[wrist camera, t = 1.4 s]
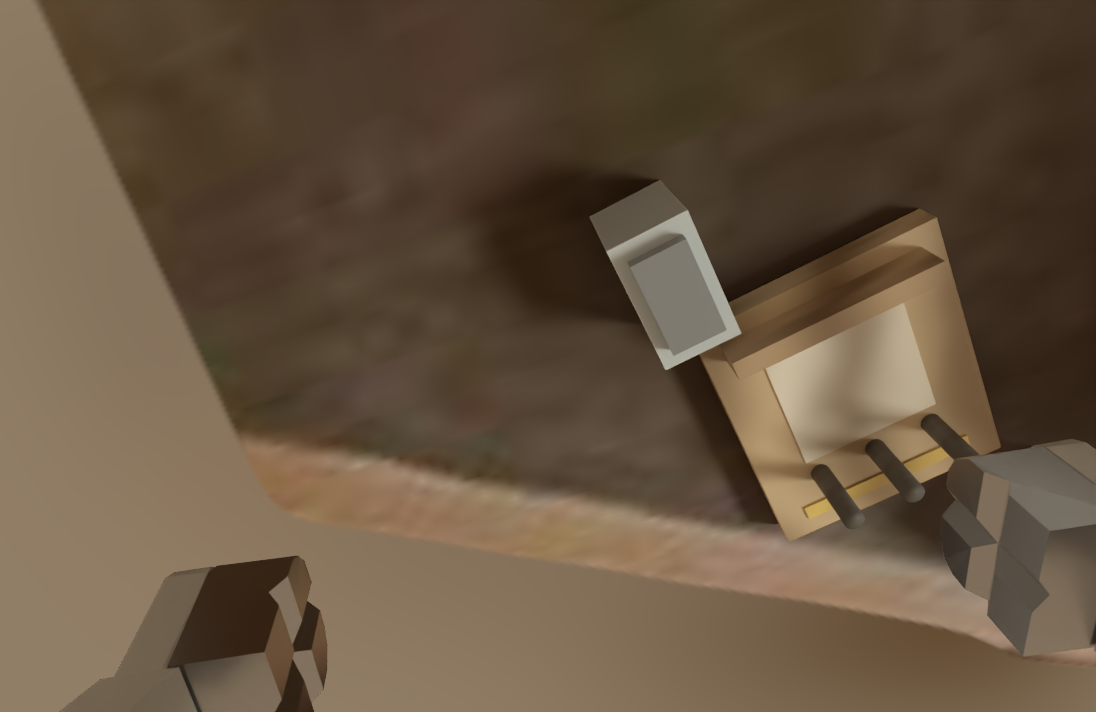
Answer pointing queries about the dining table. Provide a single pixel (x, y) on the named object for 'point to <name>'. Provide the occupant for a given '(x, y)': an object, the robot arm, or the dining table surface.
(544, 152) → the dining table surface
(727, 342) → the board
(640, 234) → the plug
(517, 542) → the dining table surface
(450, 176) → the dining table surface
